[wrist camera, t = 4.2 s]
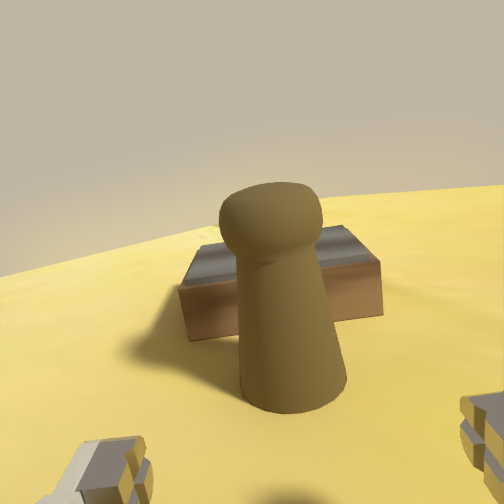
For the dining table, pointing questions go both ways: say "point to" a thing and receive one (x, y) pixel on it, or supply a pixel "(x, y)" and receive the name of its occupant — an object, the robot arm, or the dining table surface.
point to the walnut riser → (332, 269)
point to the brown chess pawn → (282, 299)
